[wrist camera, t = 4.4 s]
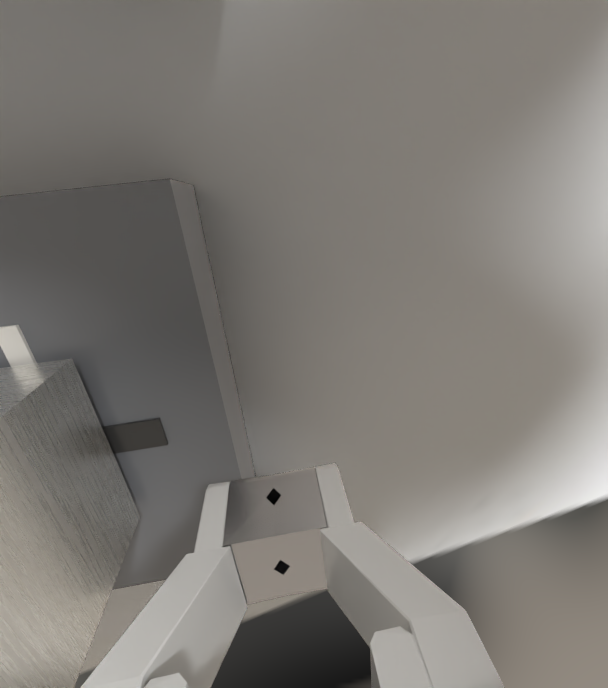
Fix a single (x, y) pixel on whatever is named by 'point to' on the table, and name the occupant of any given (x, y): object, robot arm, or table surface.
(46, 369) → the fader
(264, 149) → the table surface
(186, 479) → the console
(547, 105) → the table surface
